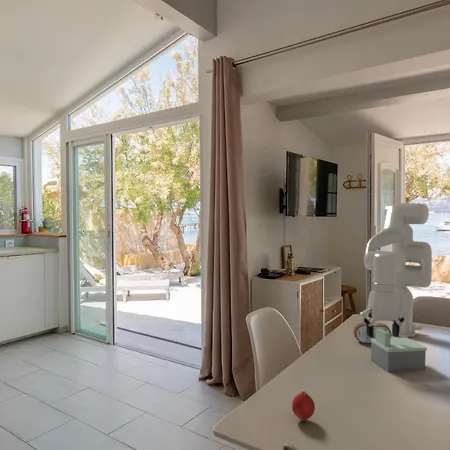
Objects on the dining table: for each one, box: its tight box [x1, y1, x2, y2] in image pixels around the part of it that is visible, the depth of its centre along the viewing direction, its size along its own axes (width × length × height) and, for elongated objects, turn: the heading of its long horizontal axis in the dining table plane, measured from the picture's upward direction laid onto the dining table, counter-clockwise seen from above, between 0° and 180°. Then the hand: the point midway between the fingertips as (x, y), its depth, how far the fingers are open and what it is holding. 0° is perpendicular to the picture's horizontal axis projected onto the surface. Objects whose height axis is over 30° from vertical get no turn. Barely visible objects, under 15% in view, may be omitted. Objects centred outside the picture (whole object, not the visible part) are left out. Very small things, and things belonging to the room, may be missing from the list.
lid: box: [371, 329, 428, 352], centre depth 140 cm, size 14×11×7 cm
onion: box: [291, 390, 316, 422], centre depth 101 cm, size 6×6×8 cm
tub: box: [370, 342, 427, 373], centre depth 140 cm, size 14×11×7 cm
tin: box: [353, 321, 392, 345], centre depth 164 cm, size 15×3×8 cm, turn 84°
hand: (382, 336), depth 139 cm, fingers open, 9 cm apart
